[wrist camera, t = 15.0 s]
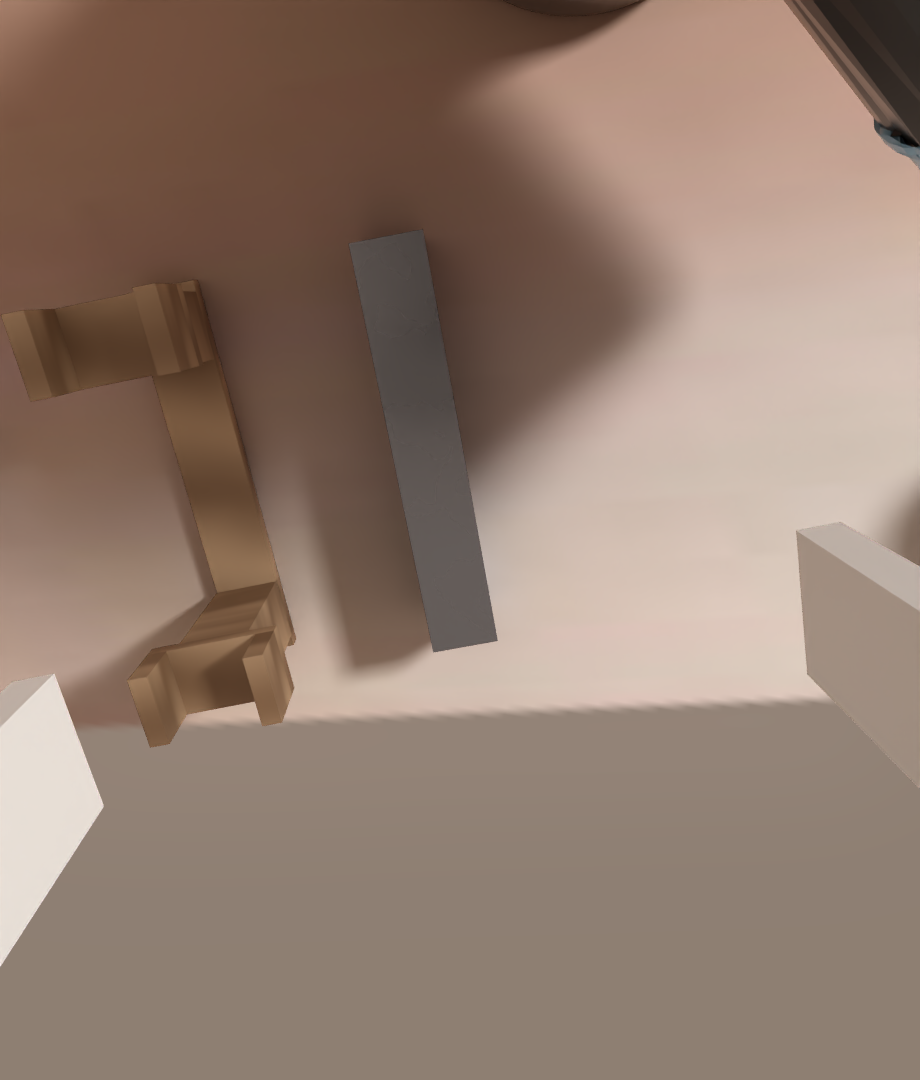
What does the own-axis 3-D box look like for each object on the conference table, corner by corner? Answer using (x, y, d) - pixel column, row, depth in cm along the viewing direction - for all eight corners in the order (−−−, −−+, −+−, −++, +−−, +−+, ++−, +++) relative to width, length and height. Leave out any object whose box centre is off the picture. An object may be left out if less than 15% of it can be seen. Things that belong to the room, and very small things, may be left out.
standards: (108, 298, 37) (-5, 299, 28) (223, 274, 37) (150, 267, 28) (217, 653, 42) (153, 758, 33) (318, 634, 42) (284, 733, 33)
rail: (359, 250, 37) (348, 243, 32) (424, 237, 37) (422, 229, 32) (433, 612, 42) (433, 652, 38) (490, 601, 42) (497, 640, 38)
